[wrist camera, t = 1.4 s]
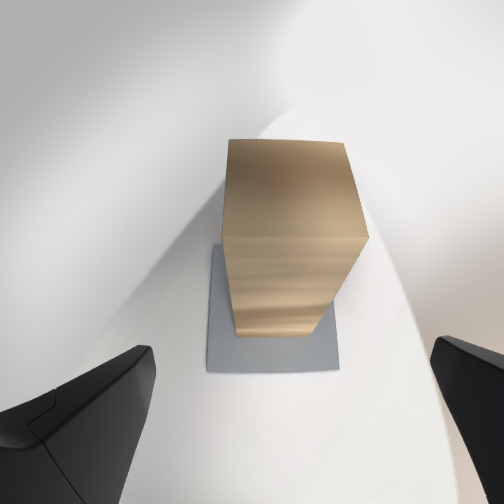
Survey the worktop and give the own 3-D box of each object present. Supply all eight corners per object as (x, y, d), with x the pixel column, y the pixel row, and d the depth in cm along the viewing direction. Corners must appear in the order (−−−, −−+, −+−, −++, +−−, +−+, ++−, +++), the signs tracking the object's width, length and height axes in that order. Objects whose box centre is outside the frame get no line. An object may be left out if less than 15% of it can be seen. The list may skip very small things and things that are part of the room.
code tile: (337, 370, 20) (339, 369, 20) (207, 373, 20) (206, 372, 20) (324, 248, 25) (326, 244, 25) (214, 248, 25) (213, 244, 25)
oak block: (309, 336, 21) (369, 237, 10) (237, 337, 21) (221, 236, 10) (304, 272, 24) (343, 142, 13) (238, 272, 24) (229, 139, 13)
